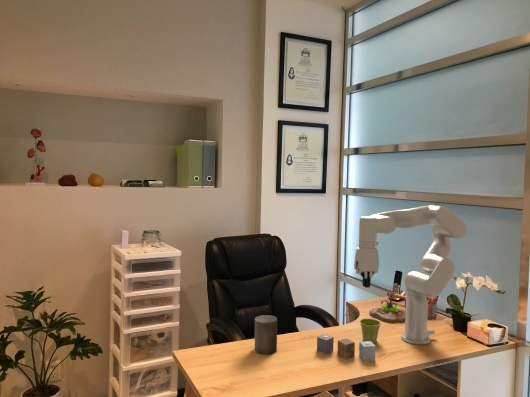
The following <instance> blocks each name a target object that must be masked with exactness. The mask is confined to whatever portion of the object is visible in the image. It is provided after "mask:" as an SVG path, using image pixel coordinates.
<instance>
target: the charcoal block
mask: <svg viewBox="0 0 530 397" xmlns="http://www.w3.org/2000/svg"><path fill="white" fill-rule="evenodd" d="M316 351H317V352H320V353H322V354H325V355H328V354H329V353H332V352H334V336H332V335H328V334H325V333H323V334H321V335H319V336H317V338H316Z"/></svg>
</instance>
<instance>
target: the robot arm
mask: <svg viewBox="0 0 530 397" xmlns="http://www.w3.org/2000/svg"><path fill="white" fill-rule="evenodd" d="M358 225H359V226H358V247H356V250H355V255H354V262H353V263H354V267H353V269H354V270H355V274H356V275H360V276H361V277H362V287H364V288H365V289H367V288H371V282H372V281H371V279H372V278H373V276H374V275H375V274H377V273H378V272H379V268H380V257H379V249H378V248H377V247H378V246H379V241H378V234H383V235H385V234H386V235H388V234H392V233H394V231H395V230H396V229H397V228H398V229H399V228H401V229H412V228H416V227H420V226H426V225H431V231H432V237H433V239H432V244H431V245H430V247H429V248H428V249H427V251H426V252H425V254H424V255H423V257H422V258H421V260H420V262H419V267H420V269H421V271H422V272H420V271H417V270H415V271H409V272H408V273H407V274H406V275H405V277H404V281H403V282H404V289H405V311H406V316H405V322H404V324H405V325H404V327H405V328H404V332H403V333H401V336H400V338H401V339H402V340H403V341H404V342H406V343H409V344H413V345H419V346H420V345H428V344H430V343H431V338H430V335H435V334H436V332H435V330H434V329H431V330H429V329H428V313H429V312H428V309H429V301H428V298H429V299H435V298H438V296H440V295H441V293H442V292H443V291H444V289H445V288H446V287H447V285H448V283H449V282H450V280H451V279H452V277H453V276H454V274H455V268H456V267H455V263H454V260H452V259H451V258H450V257H448V256H449V254H451V250H452V245H451V241H450V240H451V239H455V240H457V239H459V240H460V239H462V238H464V237H465V236H466V235H467V232H468V227H467V225H466V223H465V222H464V221H463V220H462V219H461V218H460V217H459V216H458V215H457V214H455V213H454V212H453V211H452V210H450V209H449V208H447V207H446V206H443V205H434V204H429V205H428V204H427V205H423V206H418V207H417V206H416V207H413V208H407V209H406V208H405V209H399V210H398V209H397V210H393V211H392V210H391V211H384V212H379V213H374V214H372V215H370V216H369V215H367V216H365V215H364V216H361V217H360V218H359V224H358ZM450 238H451V239H450Z"/></svg>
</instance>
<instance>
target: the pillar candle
mask: <svg viewBox="0 0 530 397" xmlns="http://www.w3.org/2000/svg"><path fill="white" fill-rule="evenodd" d="M277 350H278V318H277V317H276V316H274V315H267V314H266V315H265V314H264V315H259V316H256V317H255V318H254V352H256V353H257V354H261V355H273V354H275V353H276V352H277Z"/></svg>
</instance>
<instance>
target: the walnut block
mask: <svg viewBox="0 0 530 397" xmlns="http://www.w3.org/2000/svg"><path fill="white" fill-rule="evenodd" d="M355 351H356V342H355V341H353V340H351V339H349V338H347V337H346V338H343V339H339V340H337V351H336V352H337V355H338V356H339V357H341V358H343V359H345V360H347V359H350V358H354V357H355Z"/></svg>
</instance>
